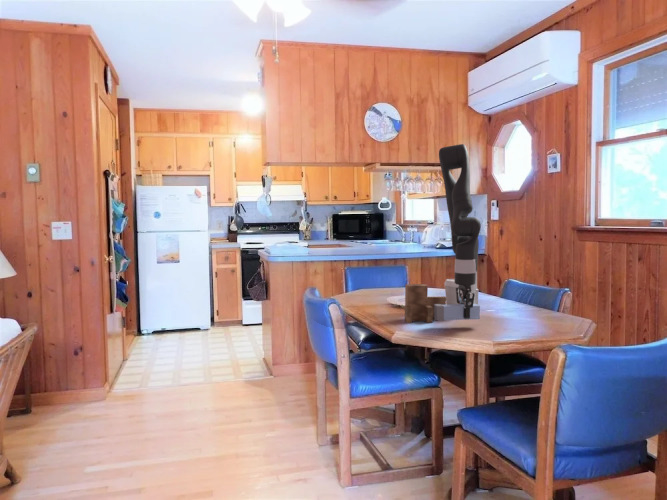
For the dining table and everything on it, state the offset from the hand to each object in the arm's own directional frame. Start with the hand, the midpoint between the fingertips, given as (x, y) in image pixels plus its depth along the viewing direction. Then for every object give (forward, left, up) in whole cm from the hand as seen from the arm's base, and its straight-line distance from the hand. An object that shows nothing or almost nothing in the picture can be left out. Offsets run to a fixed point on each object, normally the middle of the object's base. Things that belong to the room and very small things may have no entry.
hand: (464, 316), depth 185 cm
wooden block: (+11, -13, -4) cm, 17 cm away
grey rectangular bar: (+3, 0, -1) cm, 3 cm away
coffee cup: (-3, -21, -4) cm, 22 cm away
